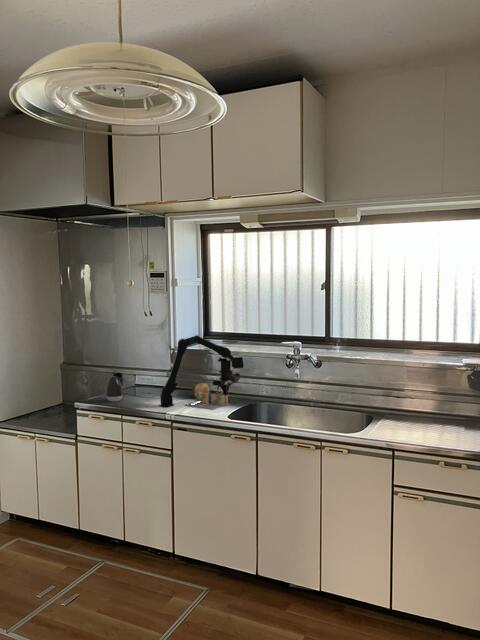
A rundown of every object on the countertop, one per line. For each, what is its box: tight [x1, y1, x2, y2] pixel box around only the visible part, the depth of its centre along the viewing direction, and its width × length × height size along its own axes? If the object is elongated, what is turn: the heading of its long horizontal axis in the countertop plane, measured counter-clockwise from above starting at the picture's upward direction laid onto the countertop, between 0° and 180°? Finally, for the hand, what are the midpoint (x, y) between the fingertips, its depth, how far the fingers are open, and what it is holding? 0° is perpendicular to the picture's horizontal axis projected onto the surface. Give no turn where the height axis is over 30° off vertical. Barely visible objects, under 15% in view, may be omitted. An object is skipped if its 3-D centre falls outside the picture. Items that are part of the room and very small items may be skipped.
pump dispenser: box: [105, 375, 124, 403], centre depth 334 cm, size 10×10×15 cm
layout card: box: [186, 401, 230, 411], centre depth 320 cm, size 20×16×1 cm
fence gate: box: [211, 393, 229, 404], centre depth 320 cm, size 11×2×5 cm, turn 56°
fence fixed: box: [196, 392, 212, 403], centre depth 327 cm, size 10×2×5 cm, turn 56°
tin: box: [191, 382, 211, 399], centre depth 343 cm, size 15×3×8 cm, turn 143°
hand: (225, 395), depth 324 cm, fingers closed
